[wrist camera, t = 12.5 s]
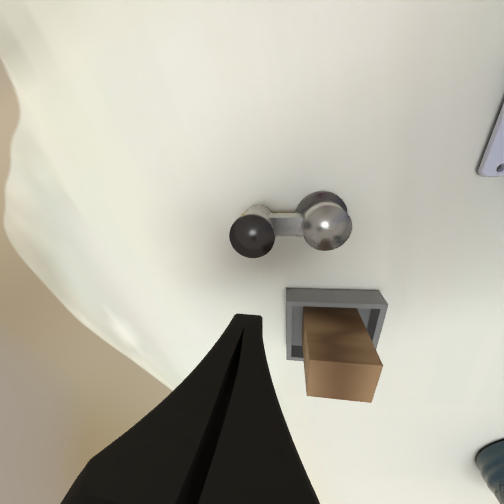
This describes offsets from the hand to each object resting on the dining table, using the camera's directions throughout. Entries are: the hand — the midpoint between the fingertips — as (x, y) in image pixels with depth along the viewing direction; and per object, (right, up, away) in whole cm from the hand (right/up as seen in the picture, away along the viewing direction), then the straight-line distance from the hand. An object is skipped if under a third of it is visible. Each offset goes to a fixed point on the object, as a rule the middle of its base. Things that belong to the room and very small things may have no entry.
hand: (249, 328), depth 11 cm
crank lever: (+3, +7, +6) cm, 9 cm away
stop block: (+8, -3, +10) cm, 14 cm away
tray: (+8, -3, +11) cm, 14 cm away
